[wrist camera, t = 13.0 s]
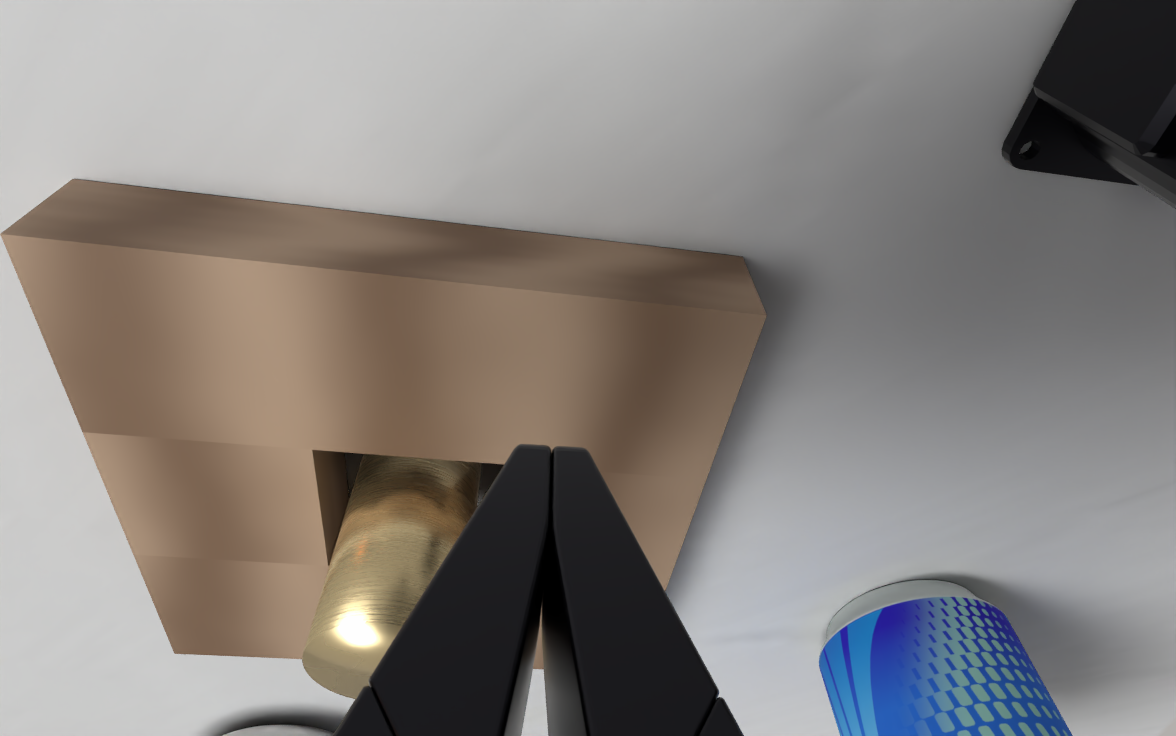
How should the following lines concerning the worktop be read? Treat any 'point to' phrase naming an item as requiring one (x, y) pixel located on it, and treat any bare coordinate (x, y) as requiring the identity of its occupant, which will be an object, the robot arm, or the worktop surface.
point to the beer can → (932, 667)
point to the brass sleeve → (385, 561)
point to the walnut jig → (359, 377)
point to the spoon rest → (280, 731)
